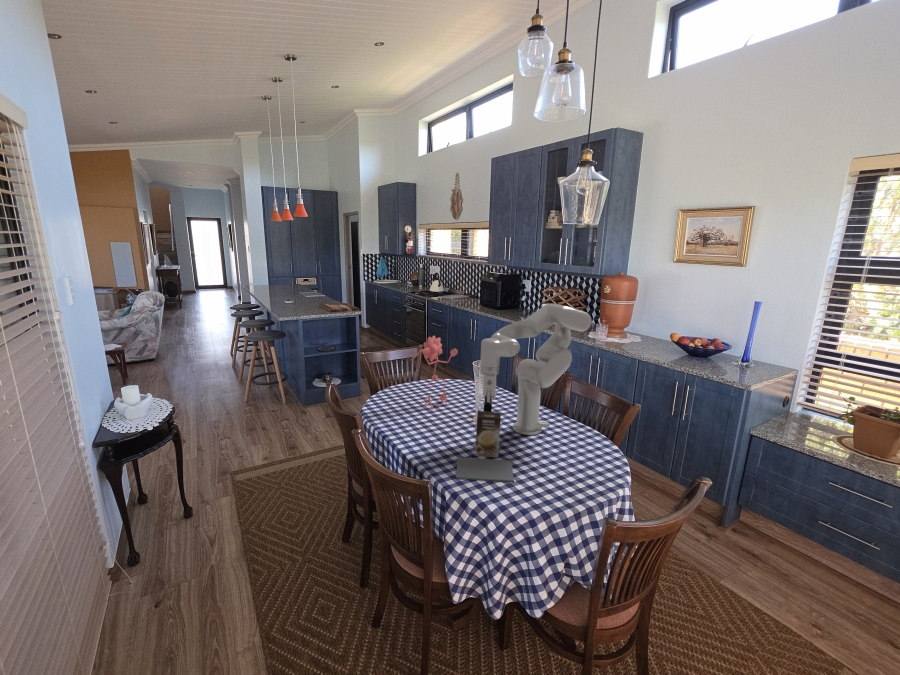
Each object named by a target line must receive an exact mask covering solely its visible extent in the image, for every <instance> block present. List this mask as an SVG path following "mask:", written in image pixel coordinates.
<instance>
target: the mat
mask: <svg viewBox="0 0 900 675" xmlns="http://www.w3.org/2000/svg"><path fill="white" fill-rule="evenodd" d="M513 471H514V470H513V463H512V459H511V460H508V459H493V458H492V459H491V458H471V457H457V464H456V472H455V473H456V474H455V479H456V480H457V479H458V480H469V481H470V480H471V481H472V480H473V481H476V480H477V481H489V482H490V481H491V482H492V481H493V482H494V481H495V482H506V483H507V482H509V483H513V482H515V478H514V472H513Z"/></svg>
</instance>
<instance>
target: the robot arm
mask: <svg viewBox="0 0 900 675" xmlns="http://www.w3.org/2000/svg"><path fill="white" fill-rule="evenodd" d="M553 325H555V326H554V327H555V328H554V331H553V333H552V334H551V335H550V337H548V339H547V340H546V341H545V342H544V343H543V344H542V345H540V346H539V348H537V350H536V352H535V353H536V354H535V358H536V360H535V359H532V358H524V359H522V360H521V361H520V362H519V363H518V365H517V369H516V370H517V371H516V372H517V373H516V375H517V380H518V381H517V382H518V388H517V389H518V390H517V391H518V393H517V394H518V395H517V409H516V422H514V423H513V424H512V430H513V431H514V432H516V433H518V434H520V435H525V436H534V435H539V434H540V433H541V432H542V430H543V429H542V428H550V427H551V426H550V422H546V421H545V420H542V421H541V420H540V409H541V408H540V407H541V406H540V405H541V395H542V394H541V392H542V391H541V388H542V389H547V388H550V387H551V386H552V385H553V384H554V383H555V382H556V381H557V380H558V379H560V377H561V376H562V375H563V374H564V373H565V372H566V371H567V370H568V368H570V366H571V363H572V361H573V360H572V359H573V355H572V352H571V351H570V349H568V347H569V346H570V345H571V342H572V336H571V334H572V333H571V332H572V331H576V332H581V333H582V332H587V331H588V329H590V327H591V325H592V317H591V315H590V314H589V313H588V312H586V311H584V310H579V309H577V308H573V307H569V306H567V305H562V304H556V303H547V304H545V305H543V306H542V307H540V308H539V309H538V310H536V311H535V312H534V313H532V314H531V315H529V316H528V317H527V318H525V319H521V320H519V321H516V322H514V323H510V324H508V325H507V324H506V325H504V326H503V327H501V328H500V329H498V330H497V331H496V332H495V333H493V334H492V335H491V337H490V338H489V337H488V338H483V339H482V340H481V343H480V359H479V360H480V366H479V373H480V375H482V397H483V399H484V402H483V411H485V412H493V410H492V409H493V403H492V399H493V400H496V398H497V397H496V395H497V394H496V393H497V375H499V372H500V359H501V357H503V358H510V357H511V358H512V357H515V356H516V355H518V354H519V352H520V351H521V345H520V343H519V341H518V339H525V338H526V339H529V338H534V337H538V336H539V335H540V334H541V333H543V332H544V331H545V330H547V329H548V328H550V327H551V326H553ZM571 330H572V331H571Z"/></svg>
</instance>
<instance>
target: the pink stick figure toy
mask: <svg viewBox="0 0 900 675" xmlns="http://www.w3.org/2000/svg"><path fill="white" fill-rule="evenodd" d="M441 339H442V338H441V337H436V335H432V336H428V337H427V341H424V342H423V347H424V348H423V349H422V348H421V349H420V350H419V351H418V352H417V353H415V355H413V357H412V358H411V359H410V361H413V360H414V359H415V358H417V357H418V356H419V355H420V354H421V353H422V354H423V357H424V359H425V361H426V362H427V364H428V365H432V364H434V371H433V375H432V376H431V380H430V383H429V384H428V389H430V386H431V383H432V382H433V381H436V380H440V381H443V382H444V384H443V389H445V387H446V386H445V384H446V380H444V379H442V378H439V377H438V375H437V374H436V369H437V365H438V363H445V364H448V363H449V362H450V360H451V358H452V357H453V358H454V357H455V356H457V355H458V353H459V352H458V349H456V348H452V349H451V350H450V352H449V353H450V356H449V358H448V360H447V361H443V360H439V355H442V354H443V348H442V347H443V344H442V343H441ZM428 359H429V360H428ZM434 360H435V361H434ZM429 361H430V362H429ZM430 398H432V396H429V397H427V399H426V401H425V403H424V404H423V408H425V407H426V405H427V404H428V403H429V404H430V406H431V407H430V408H431V410H432V411H434V408H433V404H432V401H431V399H430ZM446 398H447V393H446V392H445V390H443V393H442V394H441V395H440V396H439V400H440V401H441V402H445V406H446V405H447V406H448V402H447V400H446ZM423 400H424V398H423V399H422V401H423ZM413 405H415V403H414V402H413Z"/></svg>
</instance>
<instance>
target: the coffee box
mask: <svg viewBox="0 0 900 675" xmlns="http://www.w3.org/2000/svg"><path fill="white" fill-rule="evenodd" d="M476 413H477V414H476V416H477V417H476V428H475V429H476V432H475V444H474V445H475V447H474V456H477V457H488V458H489V457H490V458H499V449H500V437H501V436H500V434H501V420H502V419H501V418H502V415H501V412H497V411H494V412H493V411H492V412H485V411H484V410H477V412H476Z"/></svg>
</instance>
